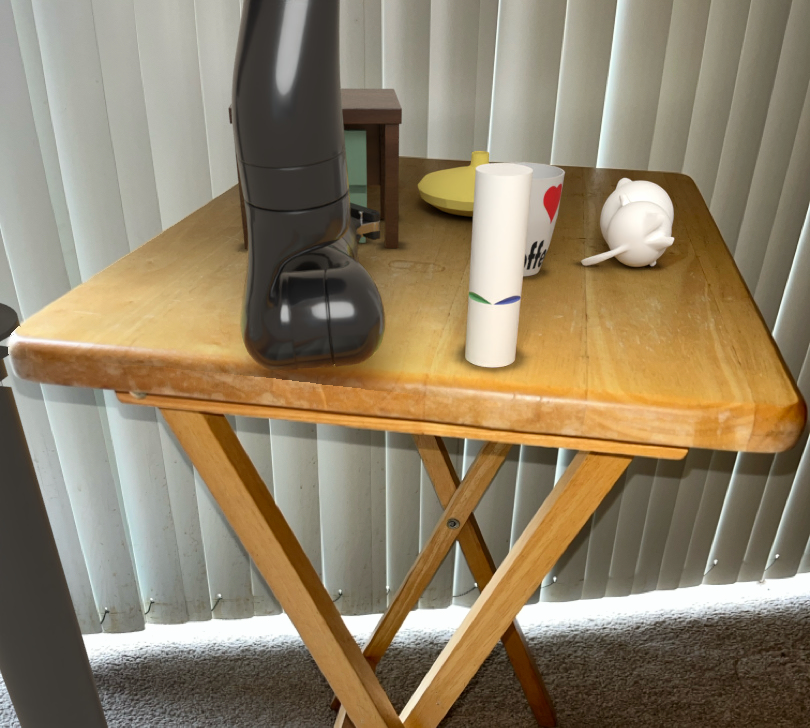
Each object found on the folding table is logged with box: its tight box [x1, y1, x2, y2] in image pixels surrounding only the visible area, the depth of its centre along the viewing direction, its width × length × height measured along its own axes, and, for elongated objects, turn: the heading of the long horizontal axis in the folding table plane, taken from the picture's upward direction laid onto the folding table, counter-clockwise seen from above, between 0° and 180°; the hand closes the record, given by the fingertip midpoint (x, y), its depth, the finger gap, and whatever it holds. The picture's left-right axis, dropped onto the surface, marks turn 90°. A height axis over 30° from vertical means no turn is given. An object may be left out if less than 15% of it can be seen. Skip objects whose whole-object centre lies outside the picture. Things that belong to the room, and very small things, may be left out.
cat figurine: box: [580, 177, 675, 268], centre depth 92 cm, size 9×11×12 cm
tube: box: [464, 162, 533, 368], centre depth 67 cm, size 4×4×15 cm
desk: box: [228, 88, 403, 250], centre depth 97 cm, size 14×18×14 cm
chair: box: [344, 129, 368, 244], centre depth 98 cm, size 10×10×12 cm
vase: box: [417, 150, 490, 217], centre depth 108 cm, size 16×16×7 cm
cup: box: [506, 161, 566, 277], centre depth 88 cm, size 8×8×10 cm
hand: (318, 202), depth 89 cm, fingers closed
